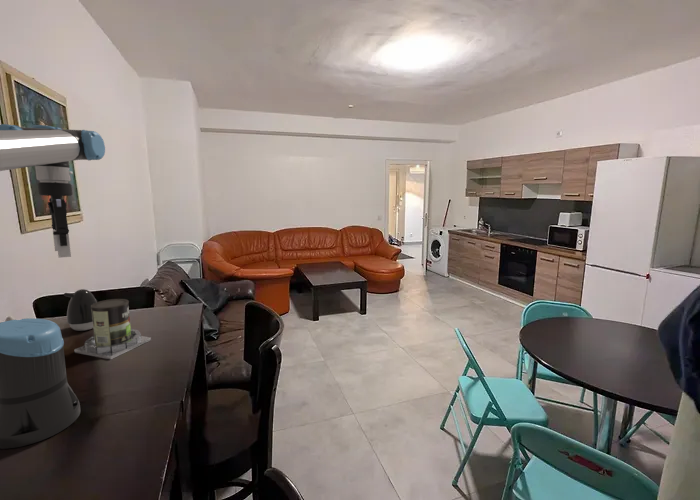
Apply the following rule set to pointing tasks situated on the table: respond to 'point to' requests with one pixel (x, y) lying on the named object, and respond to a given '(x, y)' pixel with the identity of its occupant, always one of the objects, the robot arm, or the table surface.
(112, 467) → the table surface
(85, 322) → the pump dispenser
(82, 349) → the duct collar
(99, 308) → the coffee can
